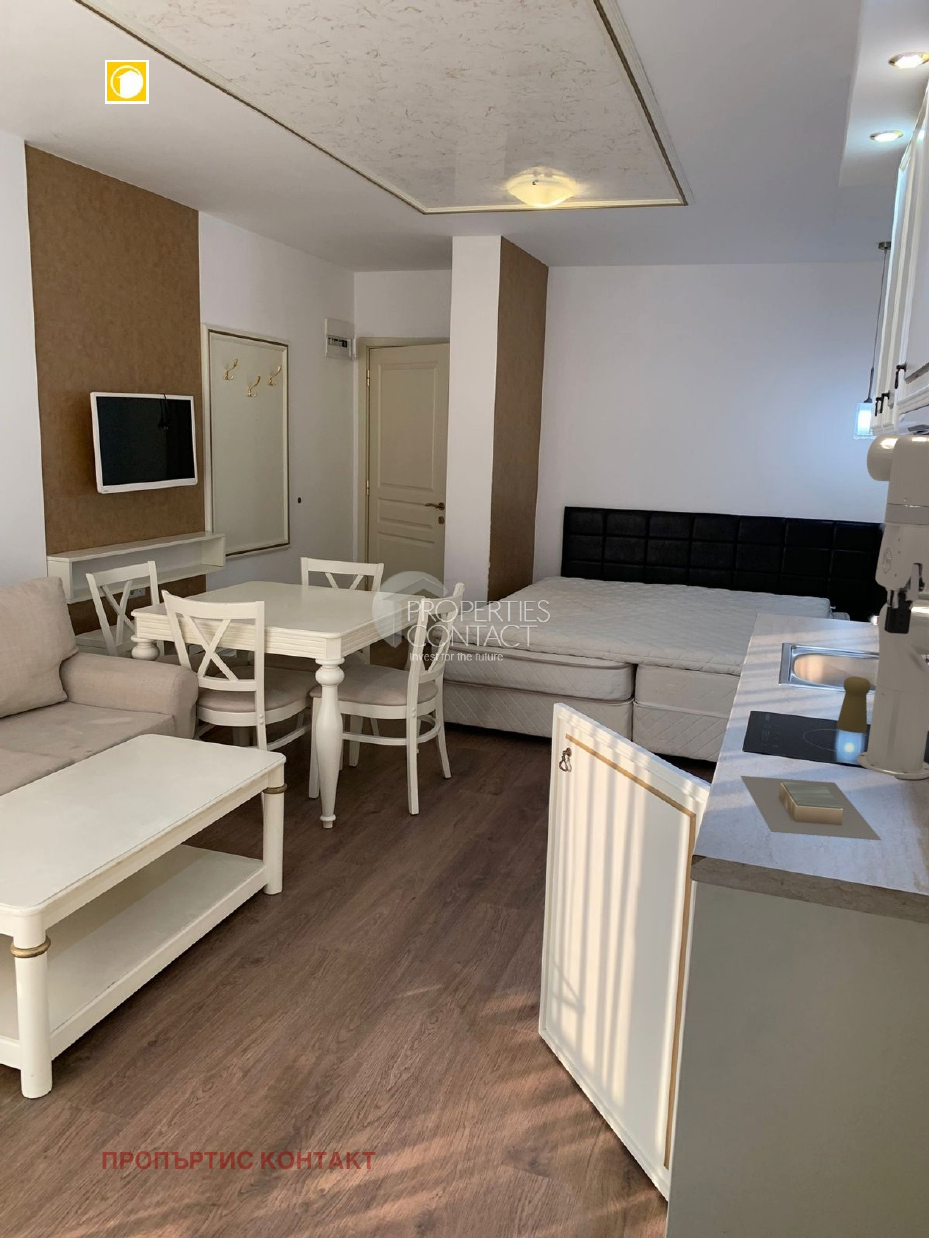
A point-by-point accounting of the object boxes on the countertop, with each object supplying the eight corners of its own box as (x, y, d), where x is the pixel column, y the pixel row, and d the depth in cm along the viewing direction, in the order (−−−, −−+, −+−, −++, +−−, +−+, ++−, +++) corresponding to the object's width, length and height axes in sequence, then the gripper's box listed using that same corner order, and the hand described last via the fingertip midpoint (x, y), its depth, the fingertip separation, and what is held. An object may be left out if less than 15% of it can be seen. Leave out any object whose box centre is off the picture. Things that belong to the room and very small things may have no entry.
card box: (781, 781, 153) (796, 804, 144) (824, 784, 153) (843, 807, 143) (779, 797, 154) (794, 821, 144) (822, 800, 153) (841, 824, 143)
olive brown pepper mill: (859, 724, 200) (865, 674, 198) (872, 733, 194) (878, 681, 192) (831, 723, 200) (837, 673, 198) (843, 732, 194) (850, 680, 192)
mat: (740, 778, 164) (740, 775, 163) (834, 785, 162) (834, 782, 162) (770, 835, 140) (771, 831, 140) (881, 843, 139) (881, 839, 139)
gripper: (870, 512, 153) (856, 622, 156) (903, 519, 138) (887, 640, 142) (918, 514, 152) (903, 625, 155) (956, 522, 137) (939, 643, 141)
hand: (896, 632), depth 148 cm, fingers closed
